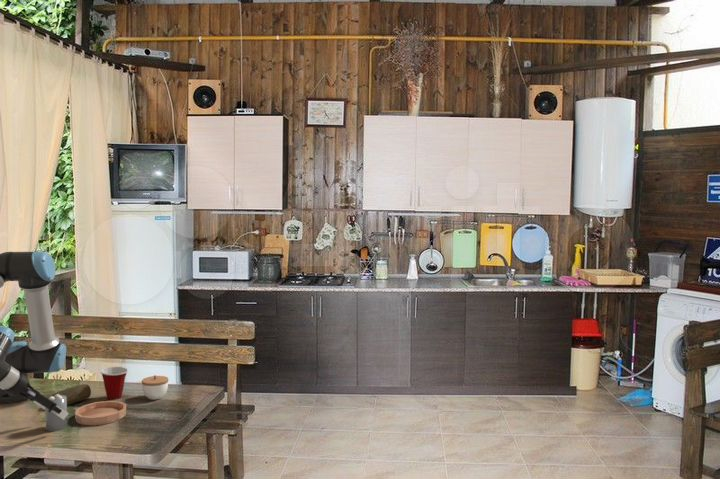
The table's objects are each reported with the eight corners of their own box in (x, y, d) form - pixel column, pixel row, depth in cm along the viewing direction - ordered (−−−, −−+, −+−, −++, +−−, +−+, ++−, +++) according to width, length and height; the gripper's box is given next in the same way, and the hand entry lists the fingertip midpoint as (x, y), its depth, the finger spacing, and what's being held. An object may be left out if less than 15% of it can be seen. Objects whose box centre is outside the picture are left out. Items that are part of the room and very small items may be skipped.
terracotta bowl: (66, 417, 228) (66, 410, 228) (111, 405, 242) (111, 397, 242) (90, 429, 217) (89, 421, 217) (135, 415, 231) (135, 407, 231)
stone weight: (82, 396, 253) (81, 381, 252) (92, 399, 249) (92, 384, 249) (48, 407, 240) (48, 391, 239) (59, 410, 236) (58, 394, 236)
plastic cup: (118, 402, 246) (118, 374, 245) (95, 400, 248) (94, 372, 247) (133, 394, 256) (133, 366, 255) (111, 392, 258) (110, 365, 257)
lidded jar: (174, 396, 254) (173, 374, 253) (153, 403, 245) (152, 381, 244) (157, 391, 260) (157, 370, 259) (136, 398, 251) (136, 376, 250)
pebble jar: (42, 428, 218) (41, 395, 217) (61, 422, 223) (61, 391, 222) (51, 432, 214) (50, 400, 213) (70, 427, 219) (69, 395, 218)
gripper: (-11, 383, 211) (35, 413, 224) (18, 398, 195) (65, 429, 208) (5, 365, 215) (49, 395, 228) (35, 378, 199) (80, 410, 212)
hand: (57, 411), depth 218 cm, fingers open, 13 cm apart
